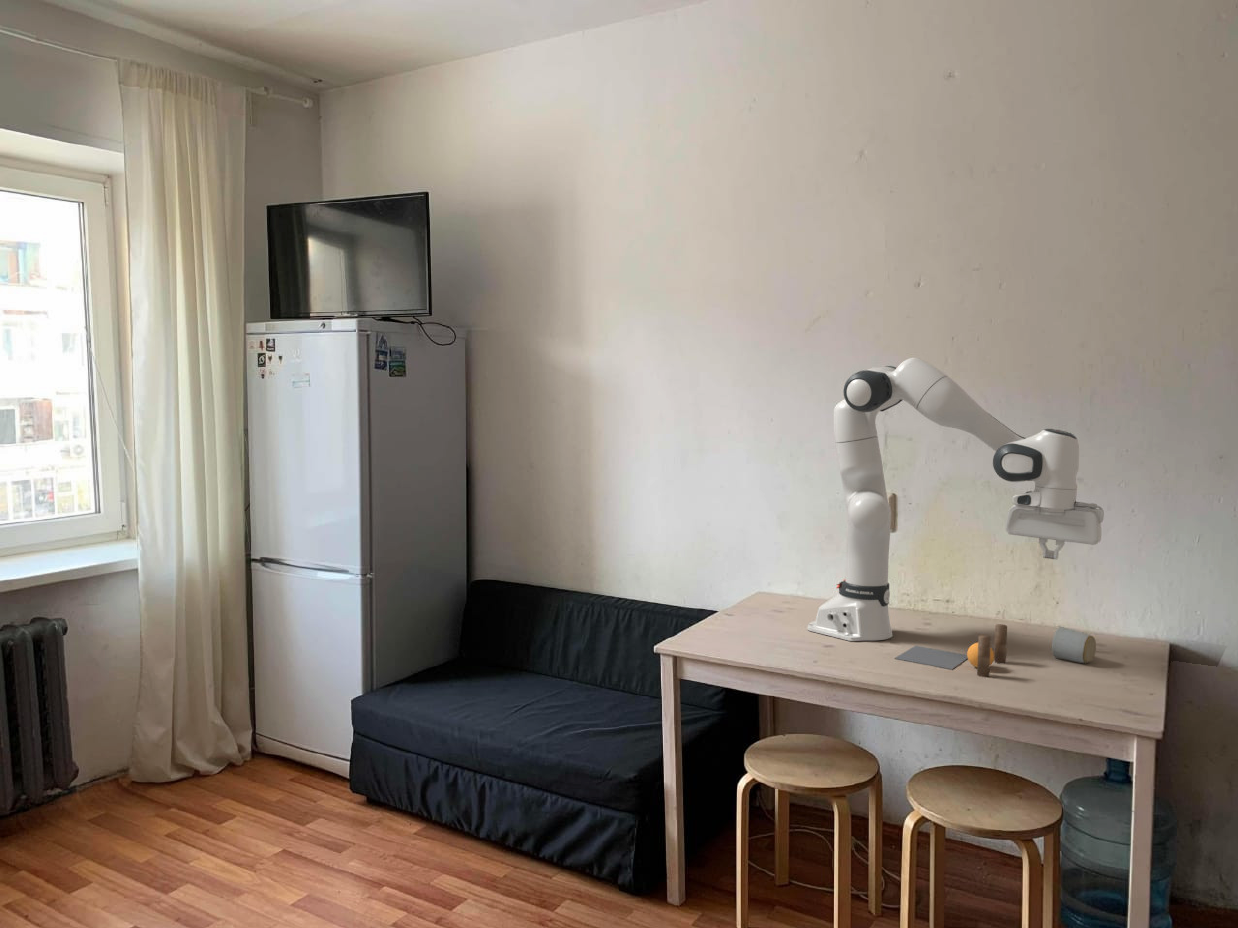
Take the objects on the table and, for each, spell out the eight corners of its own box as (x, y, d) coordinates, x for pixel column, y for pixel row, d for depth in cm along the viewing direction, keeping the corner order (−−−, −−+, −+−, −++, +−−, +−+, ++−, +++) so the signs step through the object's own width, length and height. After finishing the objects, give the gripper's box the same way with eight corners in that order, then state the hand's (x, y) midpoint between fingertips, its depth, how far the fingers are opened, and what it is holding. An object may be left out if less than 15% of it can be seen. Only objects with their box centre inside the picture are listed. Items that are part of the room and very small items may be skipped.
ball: (961, 647, 220) (987, 642, 217) (965, 643, 225) (991, 638, 222) (970, 672, 219) (996, 667, 216) (974, 668, 224) (999, 662, 221)
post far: (992, 662, 225) (994, 625, 224) (996, 659, 227) (997, 623, 226) (1003, 664, 223) (1005, 627, 223) (1007, 661, 225) (1008, 625, 225)
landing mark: (894, 658, 228) (894, 657, 228) (915, 646, 238) (915, 645, 238) (952, 669, 219) (952, 668, 219) (971, 656, 230) (971, 655, 230)
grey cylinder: (1085, 667, 221) (1087, 635, 221) (1050, 659, 227) (1051, 629, 227) (1101, 659, 229) (1103, 628, 228) (1066, 652, 234) (1068, 622, 234)
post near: (975, 675, 215) (977, 637, 214) (979, 672, 217) (980, 634, 216) (987, 677, 213) (988, 639, 212) (990, 674, 215) (992, 636, 214)
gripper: (1107, 503, 211) (1102, 563, 212) (1013, 494, 224) (1009, 550, 225) (1101, 505, 206) (1096, 567, 207) (1005, 496, 219) (1001, 554, 220)
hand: (1050, 558), depth 216 cm, fingers closed
